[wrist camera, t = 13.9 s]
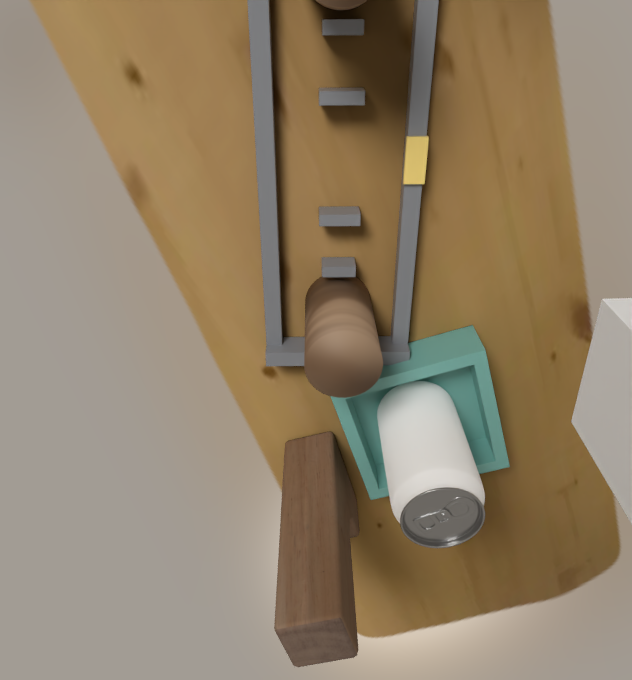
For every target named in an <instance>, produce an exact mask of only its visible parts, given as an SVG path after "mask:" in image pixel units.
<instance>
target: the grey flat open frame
mask: <svg viewBox="0 0 632 680" xmlns="http://www.w3.org/2000/svg"><path fill="white" fill-rule="evenodd" d="M438 3H439V0H415V2H414V16H413V30H412V44H411V58H410V72H409V86H408V100H407V114H406V128H405V142H404V156H403V169H402V183H401V197H400V211H399V225H398V239H397V253H396V267H395V281H394V295H393V309H392V323H391V336H378V339H379V343H380V348H381V353H382V358H383V365H393V364H396V363H400V362H404V361H407V360H409V358H410V350H409V346H408V336H409V325H410V314H411V302H412V291H413V280H414V269H415V258H416V247H417V236H418V225H419V214H420V203H421V192H422V184H425V174H426V163H427V152H428V141H429V137H428V136H427V125H428V114H429V103H430V92H431V81H432V69H433V58H434V47H435V36H436V25H437V14H438ZM248 17H249V35H250V53H251V71H252V89H253V107H254V125H255V144H256V162H257V180H258V198H259V216H260V234H261V252H262V270H263V288H264V306H265V324H266V342H267V346H266V366H304V353H305V337H283V332H282V306H281V280H280V254H279V228H278V202H277V176H276V149H275V123H274V97H273V71H272V45H271V19H270V0H248ZM322 35H364V19H322ZM319 105H365V90H364V89H363V88H319ZM360 218H361V214H360V210H359V207H319V226H360ZM322 277H356V264H355V259H354V257H322Z"/></svg>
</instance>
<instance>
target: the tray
mask: <svg viewBox="0 0 632 680" xmlns="http://www.w3.org/2000/svg"><path fill="white" fill-rule="evenodd" d="M408 346H409V350H410V358H409V360H407V361H404V362H400V363H396V364H393V365H383V369H382V373H381V375H380V377H379V379H378V381H377V382H376V383H375V384H374V385H373V386H372V387H371V388H370V389H369V390H367V391H366V392H364V393H362V394H360V395H357V396H353V397H347V398H338V397H332V396H331V399H332V401H333V404H334V407H335V409H336V412H337V414H338V417H339V419H340V422H341V425H342V427H343V430H344V432H345V435H346V437H347V440H348V443H349V445H350V448H351V450H352V453H353V455H354V458H355V461H356V463H357V466H358V468H359V471H360V473H361V476H362V479H363V481H364V484H365V486H366V489H367V491H368V494H369V497H370V499H371V500H373V499H378V498H382V497H386V496H389V491H388V484H387V478H386V472H385V466H384V459H383V453H382V447H381V440H380V433H379V427H378V419H377V410H378V406H379V404H380V402H381V400H382V398H383V397H384V396H385V395H386V394H387V393H388V392H389V391H390V390H391V389H393V388H395V387H396V386H398V385H401V384H404V383H408V382H411V381H426V382H431V383H434V384H436V385H438V386H440V387H442V388H443V389H444V390H445V391H446V392H447V393H448V394H449V395H450V397H451V398H452V400H453V403H454V405H455V408H456V411H457V413H458V416H459V419H460V422H461V424H462V427H463V430H464V433H465V436H466V438H467V441H468V444H469V447H470V450H471V453H472V455H473V458H474V461H475V464H476V467H477V470H478V473H479V474H482V473H486V472H490V471H494V470H498V469H503V468H507V467H510V466H509V461H508V456H507V451H506V446H505V442H504V437H503V432H502V427H501V423H500V418H499V413H498V408H497V403H496V399H495V394H494V389H493V384H492V379H491V375H490V370H489V365H488V360H487V355H486V351H485V348H484V346H483V344H482V342H481V341H480V339H479V337H478V335H477V333H476V331H475V329H474V327H473V325H471V326H467V327H464V328H460V329H457V330H453V331H449V332H446V333H442V334H439V335H435V336H432V337H428V338H425V339H421V340H417V341H414V342H410V343H408Z"/></svg>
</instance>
